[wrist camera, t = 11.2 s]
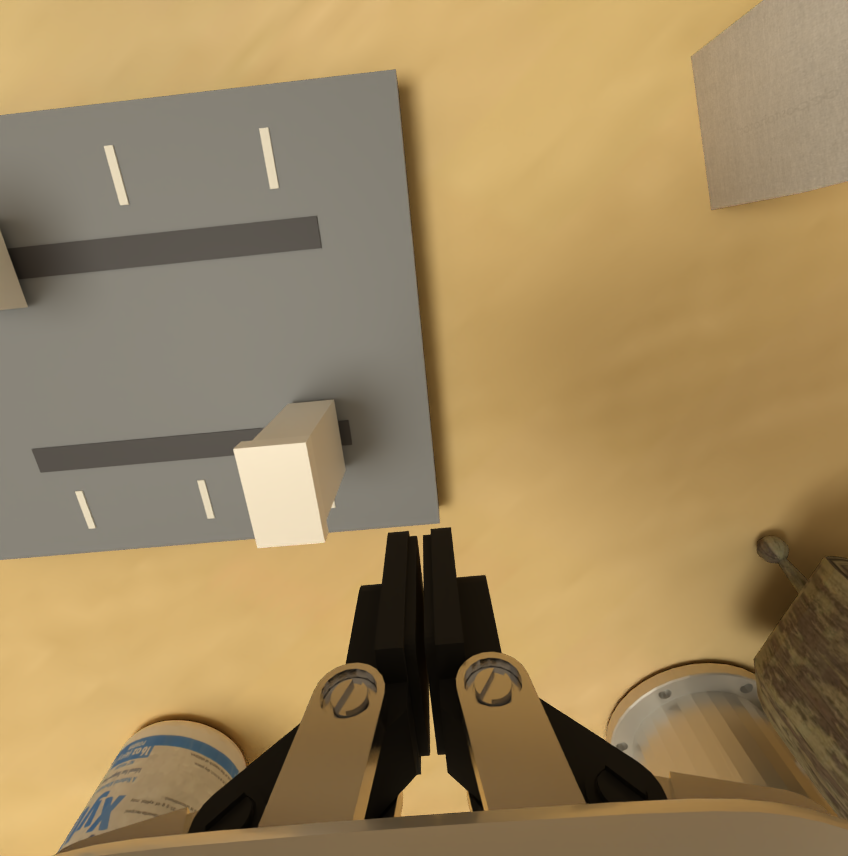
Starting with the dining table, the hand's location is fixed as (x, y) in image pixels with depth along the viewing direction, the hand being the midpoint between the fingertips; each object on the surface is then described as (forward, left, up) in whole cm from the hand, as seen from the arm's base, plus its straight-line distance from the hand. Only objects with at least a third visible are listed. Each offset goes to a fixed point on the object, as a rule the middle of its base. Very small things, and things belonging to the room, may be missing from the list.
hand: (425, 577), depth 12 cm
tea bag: (-16, -13, -16) cm, 26 cm away
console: (+14, -5, -15) cm, 21 cm away
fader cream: (+6, 0, -13) cm, 14 cm away
